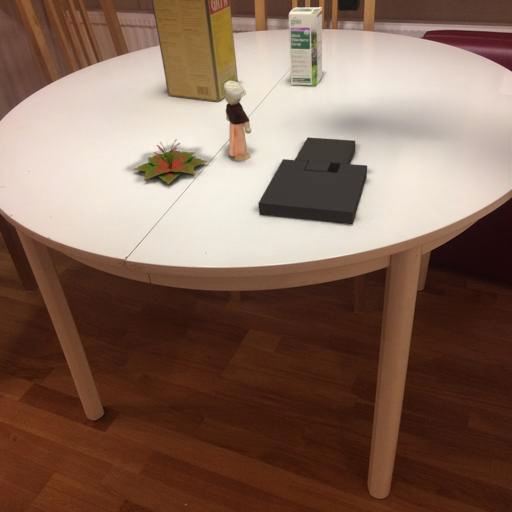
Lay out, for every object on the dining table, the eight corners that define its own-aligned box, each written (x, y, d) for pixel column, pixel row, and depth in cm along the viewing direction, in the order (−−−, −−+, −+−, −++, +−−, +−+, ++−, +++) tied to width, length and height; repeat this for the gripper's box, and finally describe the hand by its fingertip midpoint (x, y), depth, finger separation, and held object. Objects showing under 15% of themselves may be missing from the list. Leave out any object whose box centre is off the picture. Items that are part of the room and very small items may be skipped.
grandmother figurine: (217, 153, 89) (207, 79, 82) (235, 145, 91) (226, 73, 83) (245, 168, 84) (237, 90, 77) (263, 159, 86) (257, 83, 79)
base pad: (366, 177, 79) (367, 165, 78) (352, 224, 69) (353, 212, 68) (283, 170, 83) (283, 159, 82) (259, 215, 73) (258, 202, 72)
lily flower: (120, 174, 86) (113, 149, 83) (173, 146, 93) (169, 122, 90) (168, 195, 80) (162, 168, 77) (222, 163, 86) (219, 137, 84)
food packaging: (241, 86, 114) (228, -44, 99) (219, 102, 108) (201, -35, 93) (190, 81, 120) (170, -43, 104) (166, 96, 113) (141, -34, 98)
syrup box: (290, 85, 112) (287, 13, 104) (297, 76, 117) (295, 5, 108) (316, 86, 111) (315, 12, 102) (322, 76, 115) (322, 5, 106)
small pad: (355, 151, 86) (355, 140, 85) (342, 184, 78) (342, 172, 77) (307, 148, 88) (307, 137, 87) (290, 179, 80) (289, 167, 79)
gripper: (372, -133, 66) (365, 21, 77) (386, -138, 77) (378, -2, 88) (314, -128, 68) (315, 22, 79) (335, -134, 79) (334, -2, 90)
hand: (348, 9), depth 84 cm, fingers closed
